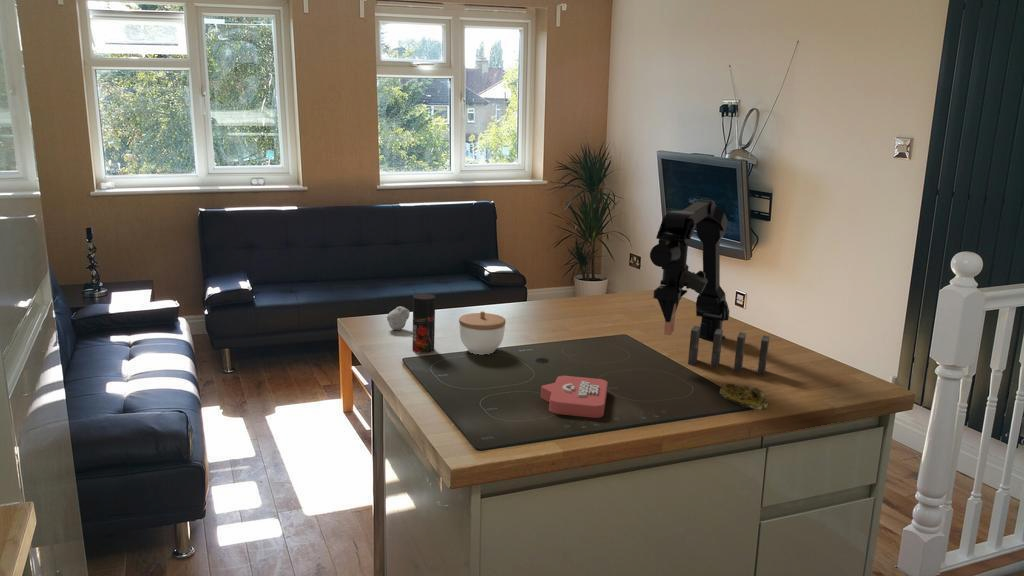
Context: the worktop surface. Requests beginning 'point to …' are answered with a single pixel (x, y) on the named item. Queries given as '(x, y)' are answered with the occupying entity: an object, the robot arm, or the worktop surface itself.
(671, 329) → the domino
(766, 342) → the domino
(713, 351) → the domino
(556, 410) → the plaque
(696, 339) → the domino
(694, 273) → the robot arm
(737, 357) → the domino
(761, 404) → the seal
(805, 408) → the worktop surface
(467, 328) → the lidded bowl
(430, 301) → the deodorant
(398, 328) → the grey lumpy stone
